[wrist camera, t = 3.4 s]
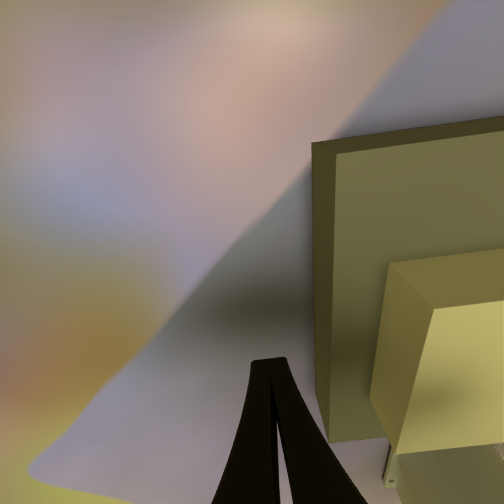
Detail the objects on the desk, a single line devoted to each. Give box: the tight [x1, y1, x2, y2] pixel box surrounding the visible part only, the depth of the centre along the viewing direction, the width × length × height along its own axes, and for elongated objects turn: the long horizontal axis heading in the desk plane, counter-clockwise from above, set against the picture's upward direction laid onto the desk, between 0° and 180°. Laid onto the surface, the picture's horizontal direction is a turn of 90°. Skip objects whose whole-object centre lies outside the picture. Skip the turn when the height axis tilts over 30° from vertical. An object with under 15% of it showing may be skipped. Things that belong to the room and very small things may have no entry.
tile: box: [369, 248, 504, 454], centre depth 10 cm, size 8×6×2 cm
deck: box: [312, 116, 504, 443], centre depth 13 cm, size 16×14×3 cm
